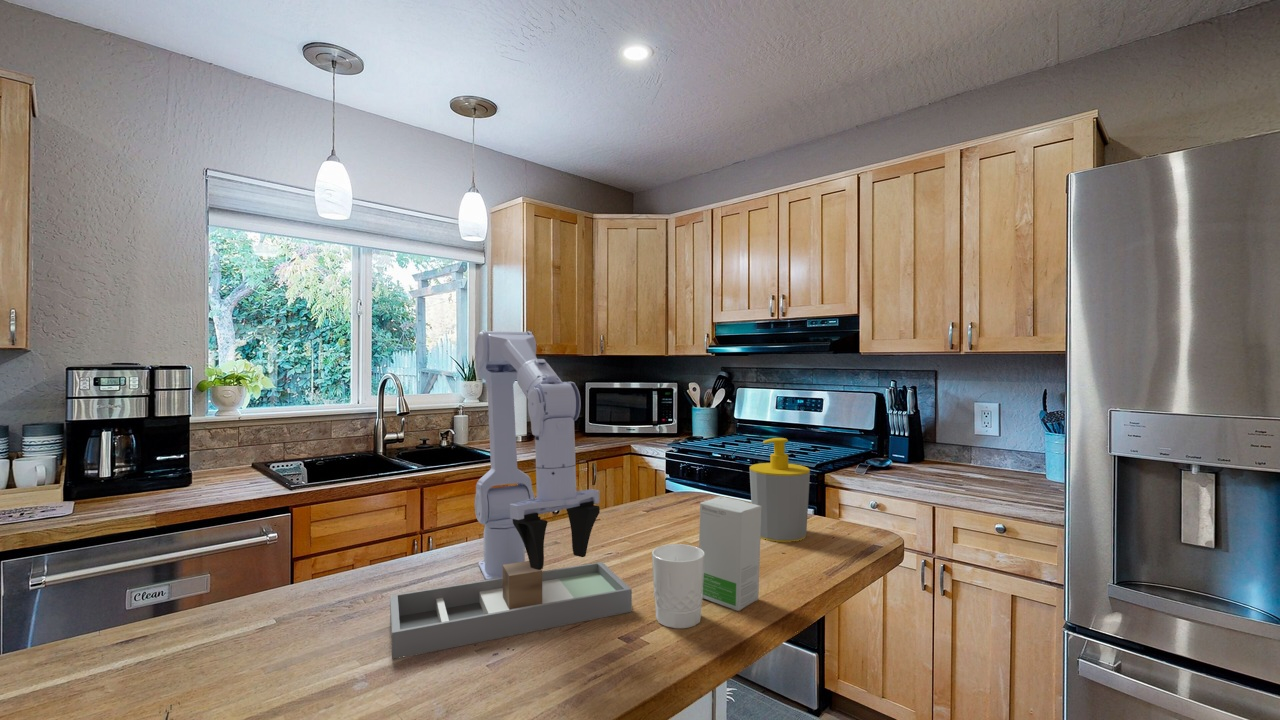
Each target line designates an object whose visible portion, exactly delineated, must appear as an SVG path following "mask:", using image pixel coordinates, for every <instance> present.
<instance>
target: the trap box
mask: <svg viewBox="0 0 1280 720" xmlns="http://www.w3.org/2000/svg"><path fill="white" fill-rule="evenodd" d="M632 591H633V590H632V588H631V587H630V586H629V585H627V583H626V582H625V581H624V580H622V578H620V576H619V575H617V574H616V573H614V571H612V570H611V569H610V568H609V567H608V566H607V565H606V564H605V563H604V562H603V561H599V562H593V563H585V564H579V565H573V566H567V567H561V568H555V569H548V570H542V604H538V605H532V606H527V607H521V608H516V609H510V610H509V608H508V606H507V604H506V602H505V600H504V599H503V578H496V579H490V580H486V579H484V580H479V581H472V582H467V583H466V582H465V583H459V584H454V585H453V584H452V585H447V586H440V587H434V588H429V589H421V590H414V591H408V592H402V593H397V594H396V593H394V594H390V597H389V598H390V600H389V601H390V602H389V605H390V608H389V611H390V613H389V614H390V616H389V617H390V621H389V622H390V640H391V641H390V642H391V643H390V644H391V660H392V659H393V660H395V659H394V658H398V659H400V658H399V657H403V656H408V657H411V655H413V656H417V655H416V654H418V655H422V654H427V653H432V652H437V651H443V650H447V649H452V648H456V647H462V646H467V645H471V644H472V645H473V644H478V643H482V642H488V641H493V640H498V639H502V638H507V637H513V636H517V635H522V634H527V633H531V632H538V631H543V630H547V629H553V628H557V627H562V626H563V627H564V626H567V625H571V624H577V623H581V622H587V621H593V620H597V619H603V618H607V617H612V616H617V615H623V614H627V613H632V609H633V608H632V607H633V606H632V605H633V604H632V600H633V599H632V597H633V596H632ZM403 658H404V657H403Z"/></svg>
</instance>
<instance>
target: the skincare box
mask: <svg viewBox="0 0 1280 720" xmlns="http://www.w3.org/2000/svg"><path fill="white" fill-rule="evenodd" d="M698 530H699V531H698V533H699V534H698V548H700V549H702V550H703V551H704V553H705V558H704V583H703V596H702V599H705V600H707V601H709V602H712V603H715V604H718V605H720V606H723V607H726V608H728V609H731V610H734V611H737V612H740V611H741V610H743V609H745V608H746V607H748V606H750V605H752V603H755V602H756V601H758V600H759V592H760V591H759V590H760V563H761V562H760V559H761V554H760V553H761V538H760V534H761V506H759V505H755V504H752V503H751V502H747V501H743V500H741V499H733V498H729V497H724V496H717V497H715V498H711V499H708V500H705V501H701V502H700V503H699V528H698Z"/></svg>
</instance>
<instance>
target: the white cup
mask: <svg viewBox="0 0 1280 720" xmlns="http://www.w3.org/2000/svg"><path fill="white" fill-rule="evenodd" d="M651 557H652V559H651V560H652V579H653V580H652V581H653V592H654V593H653V594H654V601H655V607H654V608H655V619H656V620H657V622H658V623H659V624H661V625H662V626H664V627H666V628H667V627H668V628H673V629H689V628H692V627H695V626H696V625H698V624H699V623H700V622H701V617H702V603H703V598H702V596H703V583H704V558H705V553H704V551H703V550H702V549H700V548H699V546H695V545H690V544H683V543H682V544H681V543H671V544H670V543H669V544H663V545H660V546H657V547H655V548H654V549H653V550H652V551H651Z"/></svg>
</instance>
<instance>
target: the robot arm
mask: <svg viewBox="0 0 1280 720" xmlns="http://www.w3.org/2000/svg"><path fill="white" fill-rule="evenodd" d="M474 351H475V355H474V356H475V369H476V370H475V371H476V375H477V377H479V378H481V379H482V380H484V381H485V384H486V390H487V405H488V408H487V411H488V430H489V431H488V432H489V451H490V452H489V453H490V454H489V456H490V469H489V470H488V471H487V472H486V473H485V474H484V475H482V477H480V478H479V479H478V481H477V482H476V485H475V496H474V513H475V516H476V519H477V521H478V522H479V524H481V525H483V526H484V530H483V561H482V560H480V561H478V567H479V569H480V570H481V572H482V575H483V578H484V580H490V579H496V578H503V565H505V564H512V563H518V562H525V561H526V554H527V556H528V557H527V558H528V561H529V562H530V566H531V568H534V569H537V570H540V569H541V570H543V569H544V564H545V563H544V562H545V554H544V553H545V552H544V550H545V547H544V546H545V545H544V544H545V536H546V530H547V526H548V520H546V519H541V516H539V515H541V514H542V515H543V514H548V513H553V512H557V511H561V510H566V513H567V516H568V519H569V526H570V530H571V532H570V533H571V547H572V554H573V556H576V557H580V558H584V557H586V556H587V551H588V546H589V542H590V537H591V533H592V530H593V527H594V525H595V523H596V520H597V519H598V516H599V514H600V513H601V512H600V506H599V505H597V504H600V490H599V489H592V488H590V489H585V490H577V467H576V440H575V437H576V436H575V435H576V434H575V433H576V432H575V421H577V420H578V418H579V416H580V413H581V395H580V391H579V389H578V386H577V385H576V383H575V382H573V381H562V380H561V378H560V377H559V376H558V374H557V373H556V372H555V371H554V369H553V368H552V366H550V364H549V363H548V362H547V361H546V359H544V358H537V341H536V338H535V335H534V334H533V333H532V331H530V330H528V331H501V330H500V331H498V330H497V331H493V330H492V331H490V330H485V329H483V330H480V332H478V334H477V336H476V339H475V346H474ZM515 381H517V384H518V386H519V388H520V389H521V391H522V392H523V394H524V396H525V397H526V398H527V411H528V416H529V419H530V428H531V434H532V435H533V436H534V447H535V448H534V449H535V477H536V478H535V479H536V480H535V481H536V483H535V484H536V496H535V494H534V490H533V485H532V479H531V477H530V476H529V475H528V474H527V473H525V472H524V471H522V470H520V469H519V468H518V456H517V455H518V453H517V434H516V433H517V432H516V431H517V430H516V415H515V393H514V385H515ZM514 484H515V485H514ZM516 484H517V485H516ZM503 485H504V486H503ZM505 485H508V486H505ZM495 486H497V487H495ZM499 486H501V487H499ZM595 504H596V505H595Z"/></svg>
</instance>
